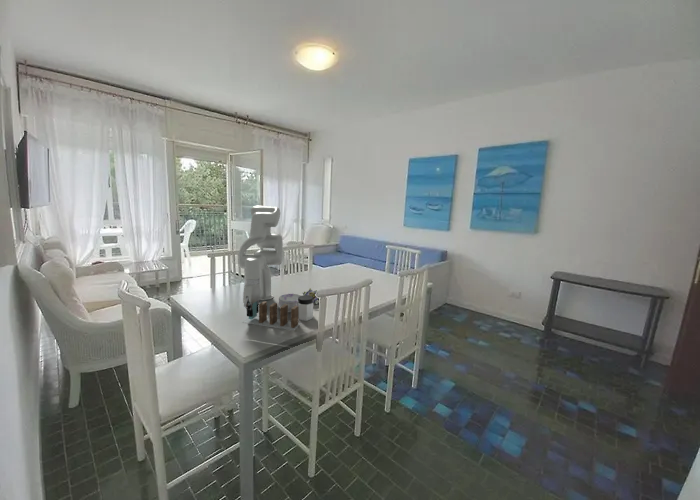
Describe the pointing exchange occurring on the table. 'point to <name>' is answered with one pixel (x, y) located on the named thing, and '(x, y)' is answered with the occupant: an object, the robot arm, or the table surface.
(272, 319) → the tile
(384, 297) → the table surface
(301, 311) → the jar
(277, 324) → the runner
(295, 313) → the tile
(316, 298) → the passion flower
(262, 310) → the tile
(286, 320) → the tile
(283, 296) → the paper bowls
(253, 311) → the tile
